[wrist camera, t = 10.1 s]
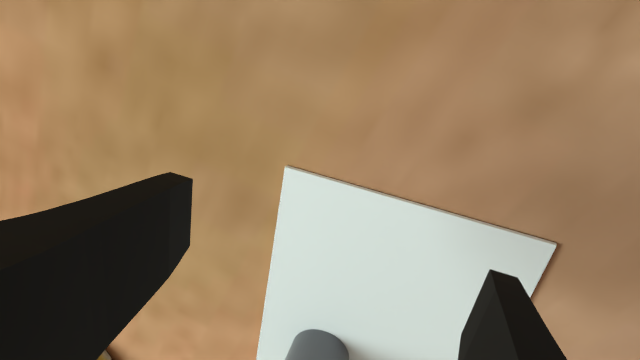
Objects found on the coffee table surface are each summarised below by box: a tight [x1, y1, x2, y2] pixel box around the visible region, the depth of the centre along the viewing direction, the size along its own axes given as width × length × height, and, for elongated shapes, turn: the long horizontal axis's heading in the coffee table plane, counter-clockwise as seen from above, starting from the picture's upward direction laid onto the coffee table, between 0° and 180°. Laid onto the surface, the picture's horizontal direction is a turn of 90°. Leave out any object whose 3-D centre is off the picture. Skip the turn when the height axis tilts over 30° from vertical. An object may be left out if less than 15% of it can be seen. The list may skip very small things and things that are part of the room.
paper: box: [256, 165, 557, 360], centre depth 25 cm, size 12×14×1 cm
